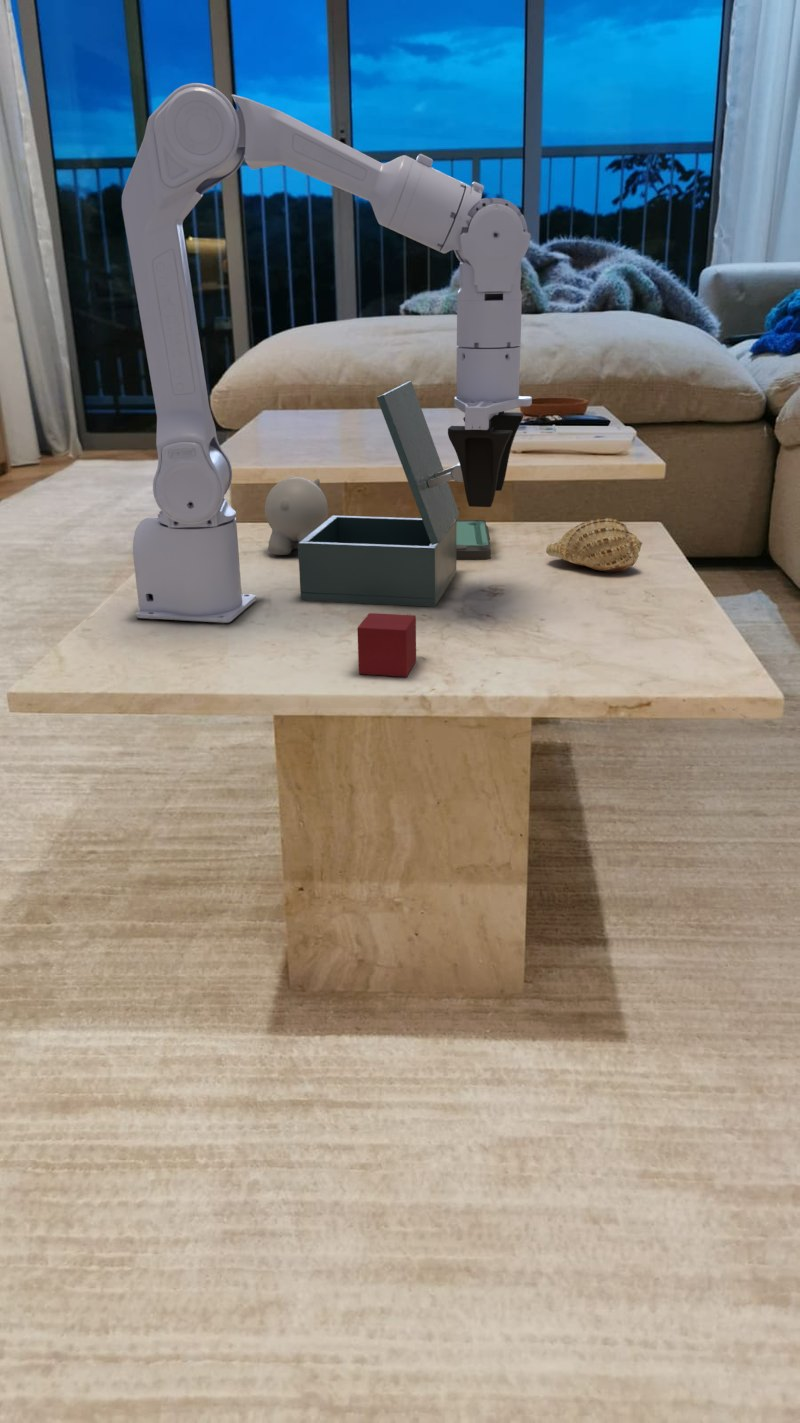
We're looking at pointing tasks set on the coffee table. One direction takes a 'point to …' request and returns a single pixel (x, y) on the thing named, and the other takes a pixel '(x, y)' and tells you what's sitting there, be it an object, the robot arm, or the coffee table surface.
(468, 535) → the smartphone
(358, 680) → the coffee table surface
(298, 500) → the chubby cartoon animal
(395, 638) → the block
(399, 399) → the lid
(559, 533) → the coffee table surface
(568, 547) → the seashell
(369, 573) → the grey-green open box
